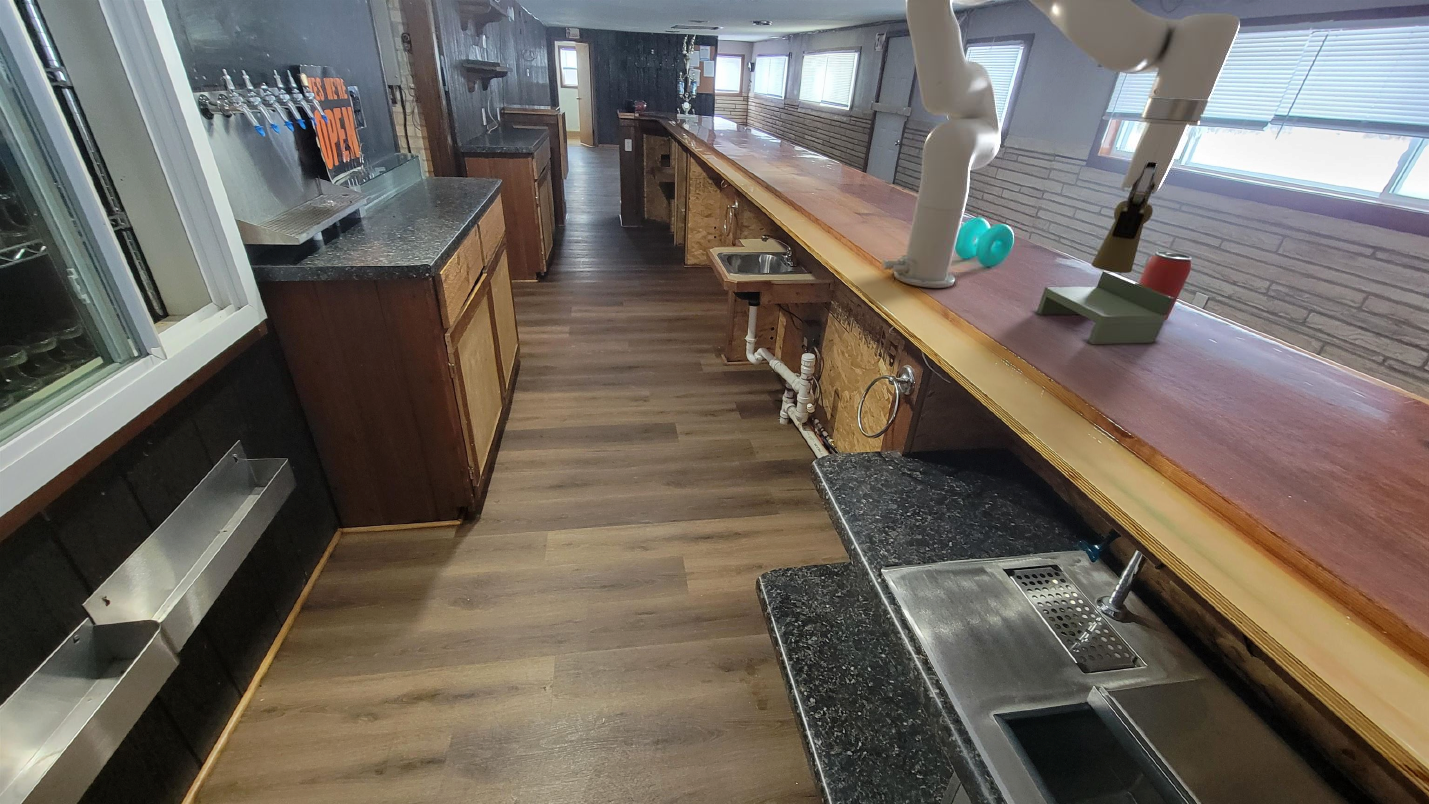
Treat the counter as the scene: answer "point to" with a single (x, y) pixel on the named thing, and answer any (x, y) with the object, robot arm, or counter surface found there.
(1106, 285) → the shelf
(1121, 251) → the cork
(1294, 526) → the counter surface
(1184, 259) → the beer can
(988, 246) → the turquoise spool
